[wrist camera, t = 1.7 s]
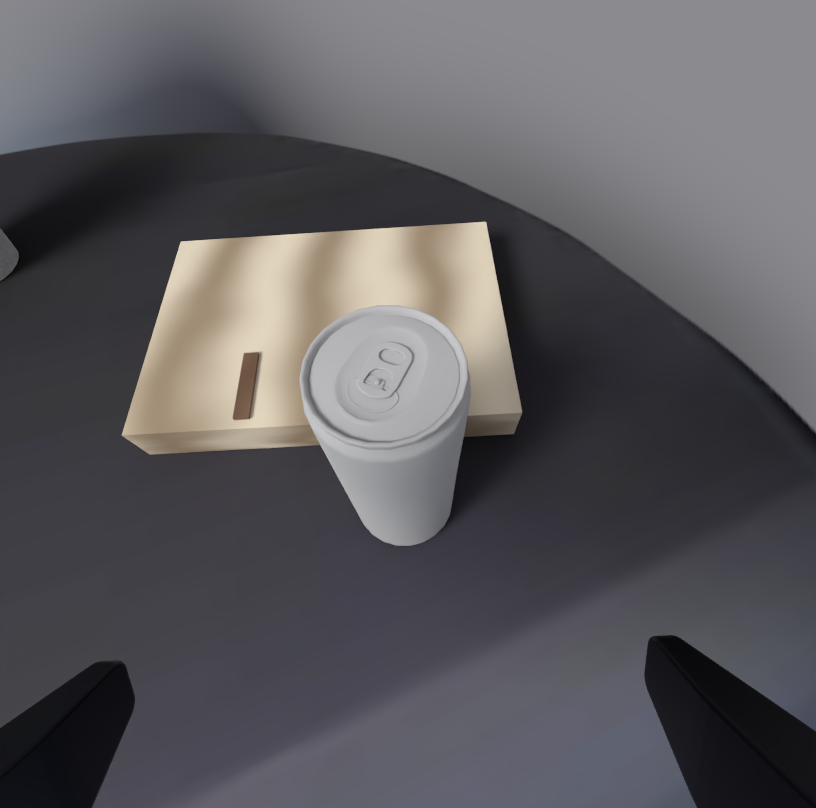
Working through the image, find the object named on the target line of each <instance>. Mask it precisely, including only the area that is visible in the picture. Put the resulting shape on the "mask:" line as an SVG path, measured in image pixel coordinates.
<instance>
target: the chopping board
mask: <svg viewBox="0 0 816 808" xmlns="http://www.w3.org/2000/svg"><path fill="white" fill-rule="evenodd" d="M377 305H399V306H404V307H409V308H414V309H418V310H420V311H423V312H425V313H427V314H429V315H432V316H434V317H436V318H437V319H438V320H439V321H441V322H442V323H443V324H445V325H446V326H447V327H449V328H450V329H451V331H452V332H453V333H454V335H455V336H456V337H457V339H458V340H459V341H460V343H461V345H462V347H463V350H464V353H465V356H466V358H467V361H468V371H469V373H470V387H471V398H470V404H469V410H468V416H467V422H466V427H465V433H464V437H472V436H490V435H507V434H514V432H515V430H516V427H517V425H518V422H519V420H520V417H521V415H522V408H521V403H520V398H519V392H518V387H517V382H516V377H515V371H514V366H513V361H512V356H511V350H510V345H509V340H508V335H507V329H506V324H505V319H504V314H503V308H502V303H501V298H500V293H499V287H498V282H497V277H496V272H495V266H494V261H493V256H492V251H491V245H490V240H489V235H488V230H487V224H486V222H476V223H460V224H445V225H429V226H414V227H399V228H383V229H368V230H352V231H337V232H321V233H306V234H290V235H275V236H260V237H244V238H229V239H213V240H198V241H182V242H181V243H180V246H179V249H178V253H177V256H176V259H175V262H174V266H173V269H172V272H171V276H170V279H169V282H168V285H167V289H166V292H165V295H164V298H163V302H162V305H161V308H160V312H159V315H158V318H157V321H156V325H155V328H154V331H153V335H152V338H151V341H150V344H149V348H148V351H147V354H146V357H145V361H144V364H143V367H142V371H141V374H140V377H139V380H138V384H137V387H136V390H135V394H134V397H133V400H132V403H131V407H130V410H129V413H128V416H127V420H126V423H125V426H124V430H123V433H122V436H123V437H125V438H126V439H128V440H129V441H131V442H132V443H134V444H135V445H137V446H138V447H140V448H141V449H143V450H144V451H145V452H147V453H148V454H167V453H185V452H203V451H220V450H238V449H256V448H274V447H292V446H310V445H320V443H319V441H318V440H317V438H316V436H315V434H314V432H313V430H312V428H311V426H310V424H309V422H308V420H307V418H306V415H305V413H304V408H303V400H302V394H301V387H300V380H299V378H300V373H301V367H302V362H303V359H304V357H305V355H306V353H307V351H308V349H309V347H310V345H311V343H312V342H313V341H314V340H315V338H316V337H317V336H318V335H319V334H320V333H321V332H322V330H323V329H324V328H326V327H327V326H329V325H330V324H331V323H333V322H334V321H336V320H337V319H338V318H340V317H342V316H344V315H347V314H349V313H351V312H354V311H356V310H358V309H363V308H368V307H373V306H377Z"/></svg>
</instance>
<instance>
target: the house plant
mask: <svg viewBox="0 0 816 808" xmlns="http://www.w3.org/2000/svg"><path fill="white" fill-rule="evenodd" d="M18 259H19V254H18V251H17V249H16V248H15V247H14V245H13V244H12V243H11V241H10V240H9V239H8V238H7V236H6V235H5V234H4V232H3V231H2V230H1V228H0V281H1V280H3V279H4V278H5V277H7V276H8V275H9V274H10V273H11V272H12V271H13V269H14V268H15V266H16V265H17V262H18Z"/></svg>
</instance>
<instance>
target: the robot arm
mask: <svg viewBox="0 0 816 808" xmlns="http://www.w3.org/2000/svg"><path fill="white" fill-rule="evenodd" d="M645 683H646V687H647V690H648V692H649V695H650V697H651V700H652V702H653V705H654V707H655V709H656V712H657V714H658V717H659V719H660V722H661V724H662V726H663V729H664V731H665V734H666V736H667V739H668V741H669V743H670V746H671V748H672V751H673V753H674V755H675V758H676V760H677V763H678V765H679V768H680V770H681V772H682V775H683V777H684V780H685V782H686V784H687V787H688V789H689V791H690V793H691V796H692V798H693V800H694V802H695V804H696V806H697V808H816V731H814V730H813V729H811V728H810V727H809V726H807V725H806V724H804V723H803V722H801V721H800V720H798V719H797V718H795V717H794V716H793V715H791V714H790V713H788V712H787V711H785V710H784V709H782V708H781V707H780V706H778V705H777V704H775V703H774V702H772V701H771V700H769V699H768V698H766V697H765V696H764V695H762V694H761V693H759V692H758V691H756V690H755V689H753V688H752V687H750V686H749V685H748V684H746V683H745V682H743V681H742V680H740V679H739V678H737V677H736V676H734V675H733V674H732V673H730V672H729V671H727V670H726V669H724V668H723V667H721V666H720V665H719V664H717V663H716V662H714V661H713V660H711V659H710V658H708V657H707V656H705V655H704V654H703V653H701V652H700V651H698V650H697V649H695V648H694V647H692V646H691V645H689V644H688V643H687V642H685V641H684V640H682V639H681V638H679V637H677V636H673V635H668V636H653V637H651V638H650V639H649V641H648V647H647V655H646V664H645ZM134 703H135V696H134V692H133V688H132V685H131V682H130V678H129V675H128V672H127V668H126V666H125V664H124V663H123V662H122V661H100V662H96V663H94V664H93V665H91V666H89V667H88V668H87V669H85V670H84V671H82V672H81V673H79V674H78V675H76V676H75V677H74V678H72V679H71V680H69V681H68V682H66V683H65V684H63V685H62V686H61V687H59V688H58V689H56V690H55V691H53V692H52V693H50V694H49V695H48V696H46V697H45V698H43V699H42V700H40V701H39V702H37V703H36V704H35V705H33V706H32V707H30V708H29V709H27V710H26V711H24V712H23V713H22V714H20V715H19V716H17V717H16V718H14V719H13V720H11V721H10V722H9V723H7V724H6V725H4V726H3V727H1V728H0V808H92V806H93V804H94V802H95V800H96V797H97V795H98V793H99V790H100V788H101V785H102V783H103V781H104V778H105V776H106V774H107V771H108V769H109V767H110V764H111V762H112V760H113V757H114V755H115V753H116V750H117V748H118V745H119V743H120V741H121V738H122V736H123V734H124V731H125V729H126V727H127V724H128V722H129V720H130V717H131V715H132V712H133V709H134Z"/></svg>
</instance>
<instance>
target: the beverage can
mask: <svg viewBox="0 0 816 808" xmlns="http://www.w3.org/2000/svg"><path fill="white" fill-rule="evenodd" d="M299 380H300V387H301V394H302V400H303V408H304V413H305V415H306V418H307V420H308V422H309V424H310V426H311V428H312V430H313V432H314V434H315V436H316V438H317V440H318V441H319V443H320V445H321V447H322V449H323V451H324V452H325V454H326V456H327V458H328V460H329V462H330V463H331V465H332V467H333V469H334V471H335V473H336V474H337V476H338V478H339V480H340V482H341V484H342V485H343V487H344V489H345V491H346V493H347V495H348V496H349V498H350V500H351V502H352V504H353V506H354V507H355V509H356V511H357V513H358V515H359V517H360V518H361V520H362V522H363V524H364V525H365V527H366V528H367V529H368V530H369V531H370V532H371V533H372V534H373V535H374V536H376V537H377V538H379V539H380V540H382V541H383V542H386V543H390V544H393V545H397V546H411V545H415V544H419V543H423V542H424V541H426V540H428V539H430V538H432V537H433V536H435V535H436V534H437V533H438V532H439V531H440V530H441V529H442V528H443V527H444V525H445V523H446V521H447V519H448V518H449V516H450V511H451V506H452V500H453V493H454V487H455V481H456V474H457V468H458V463H459V458H460V453H461V448H462V443H463V438H464V433H465V427H466V422H467V416H468V410H469V404H470V398H471V387H470V373H469V371H468V361H467V358H466V356H465V353H464V350H463V347H462V345H461V343H460V341H459V340H458V339H457V337H456V336H455V335H454V333H453V332H452V331H451V329H450V328H449V327H447V326H446V325H445V324H443V323H442V322H441V321H439V320H438V319H437V318H436V317H434V316H432V315H429V314H427V313H425V312H423V311H420V310H418V309H414V308H409V307H404V306H399V305H377V306H373V307H368V308H363V309H358V310H356V311H354V312H351V313H349V314H347V315H344V316H342V317H340V318H338V319H337V320H336V321H334V322H333V323H331V324H330V325H329V326H327V327H326V328H324V329H323V330H322V332H321V333H320V334H319V335H318V336H317V337H316V338H315V340H314V341H313V342H312V343H311V345H310V347H309V349H308V351H307V353H306V355H305V357H304V359H303V362H302V367H301V373H300V378H299Z"/></svg>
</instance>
